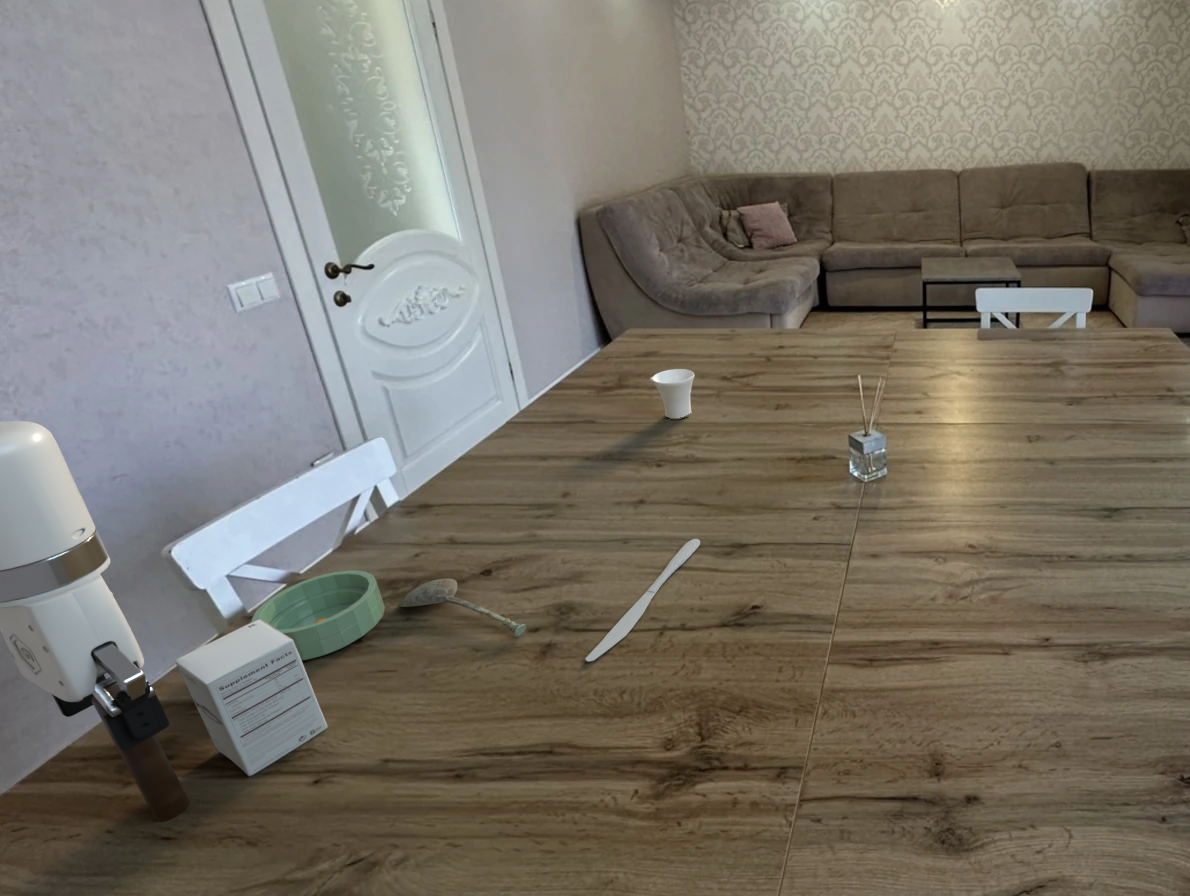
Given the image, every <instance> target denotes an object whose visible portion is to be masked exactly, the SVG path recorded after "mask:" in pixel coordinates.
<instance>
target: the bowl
mask: <svg viewBox="0 0 1190 896" xmlns="http://www.w3.org/2000/svg"><path fill="white" fill-rule="evenodd" d="M385 610H386V606H385V603H384V600H383V596H382V594H381V591H380V588H379V585H378V582H377V580H376V578H375V576H374V574H372V573H369V572H367V571H364V570H353V569H352V570H351V569H350V570H343V571H341V570H340V571H334V572H329V573H325V574H321V575H317V576H313V577H311V578H308V579H306V580H303V581H300V582H298V583H296V584H293V585H291V586H289V587H287V588H285V589H283V590H281V591H279V592H278V593H276V594H275V595H273V596H272V597H270V598H268V599H267V600H265V602H264V603H263V604H262V605H260V606H259V607H258V609H256V610H255V612H254V614H253V615H252V618H251V620H250V623H252V622H254V621H257V620H262V621H263V622H265V623H267V624H268V625H270V626H271V627H273V628H275V629H277V630H278V631H279V632H281V633H283V634H284V635H286V636H288V637H289V638H291V639H292V640H293V641H294V644H295V646H296V648H297V651H298V653H299V655H300V658H301V661H302V662H303V661H307V660H311V659H315V658H319V657H323V656H327V655H328V654H332V653H334V652H337V651H338V650H341V649H343V648H345V647H347V646H349V645H351V644H352V643H355V641H358V639H359V640H360V638H362V637H364V636H365V635H367V633H368V632H370V631H371V630H372V629H374V628H375V627H376V626H377V624H378V623H379V622H380V621H381V619H382V618H383V617H384V614H385ZM322 618H327V619H324V620H322V621H319V622H317V623H314V622H316V621H317V620H319V619H322ZM313 623H314V624H313Z"/></svg>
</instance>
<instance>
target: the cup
mask: <svg viewBox="0 0 1190 896" xmlns="http://www.w3.org/2000/svg"><path fill="white" fill-rule="evenodd" d="M694 379H695V373H694V372H693V371H692V370H690V369H687V368H686V369H685V368H673V369H667V370H663V371H660V372H657V373H655V374H654V375H653V376H651V377H650V378H649V381H650V383H652V384H653V385H654V386H655V387H656V389H657V391H658V393H659V395H660V397H661V400H662V403H663V407H664V414H665V415H666V416H667V417H670V418H680V417H684V416H686V415H688V414H690V413H691V414H692V406H691V394H692V393H691V392H692V387H693V386H692V385H693V381H694Z"/></svg>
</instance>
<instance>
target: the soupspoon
mask: <svg viewBox="0 0 1190 896" xmlns="http://www.w3.org/2000/svg"><path fill="white" fill-rule="evenodd" d="M457 591H458V581H456V579H453V578H437V579H434V580H429V581H427V582H425V583H423V584H420V585H418V586H417V587H415V588H414V589H412V590H411V591H410V592H408V593H407V594H406V595H405V596H404V598H403V599H402V600H401V601H400V603H399V607H401V608H411V607H419V606H427V605H434V604H439V603H440V604H441V603H451V604H454V605H457V606H461V607H464V608H466V609H469V610H472V611H474V612H477V613H480V614H482V615H485V616H487V617H489V618H492V619H494V620H496V621H498V622H500V623H502V625H503V626H506V627H507V628H508V629H510V630H511V632H512V633H513V636H514V638H519V637H521V636H523V634H524V633H525V631H526V630H527V627H528V626H527V624H525V623H522V624H520V623H517V622H515V621H512V620H511V619H510V618H506V617H504V616H502V615H500V614H498V613H496V612H494V611H491V610H489V609H488V608H487V609H486V608H484V607H481V606H479V605H477V604H474V603H471V602H469V601H467V600H464V599H461V598H458V597H455V594H456V593H457Z"/></svg>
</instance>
